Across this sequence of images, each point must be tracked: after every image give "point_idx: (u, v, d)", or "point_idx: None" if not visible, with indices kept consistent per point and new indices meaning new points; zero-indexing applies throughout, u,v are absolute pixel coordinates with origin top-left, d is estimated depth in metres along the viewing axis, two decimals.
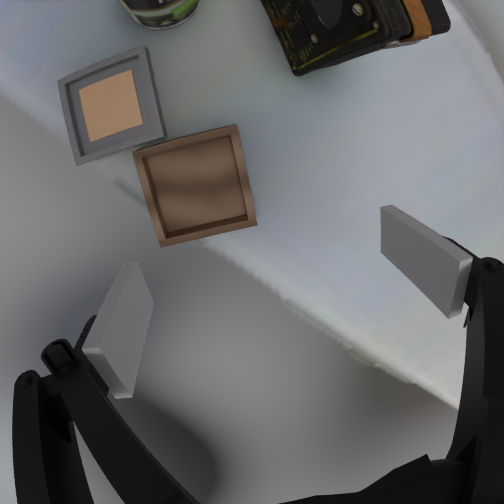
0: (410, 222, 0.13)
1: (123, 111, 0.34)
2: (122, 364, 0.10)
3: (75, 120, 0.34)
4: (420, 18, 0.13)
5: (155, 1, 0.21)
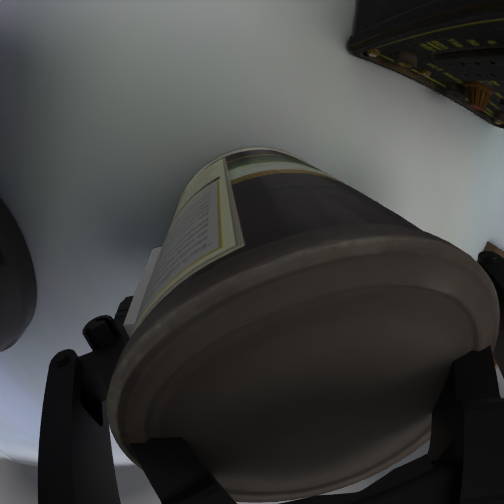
0: None
1: None
2: None
3: None
4: None
5: None
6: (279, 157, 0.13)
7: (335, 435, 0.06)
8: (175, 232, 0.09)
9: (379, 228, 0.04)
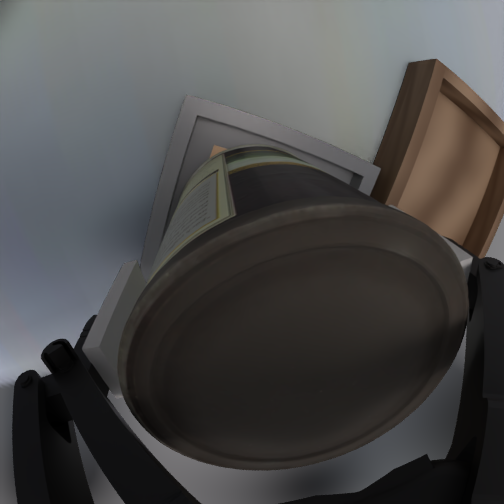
0: None
1: None
2: None
3: None
4: None
5: None
6: (272, 152, 0.14)
7: (319, 393, 0.08)
8: (179, 215, 0.10)
9: (341, 199, 0.06)
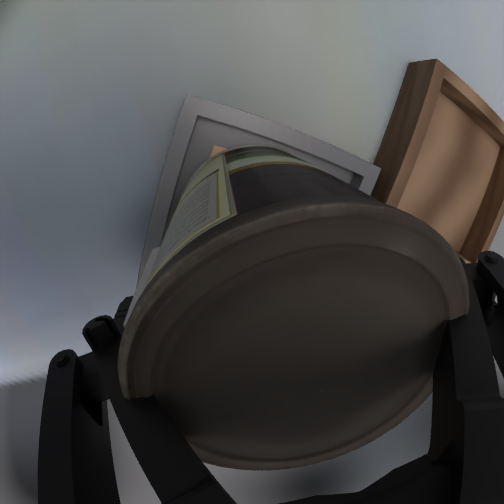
0: None
1: None
2: None
3: None
4: None
5: None
6: (273, 152, 0.14)
7: (320, 393, 0.08)
8: (179, 215, 0.10)
9: (343, 198, 0.06)
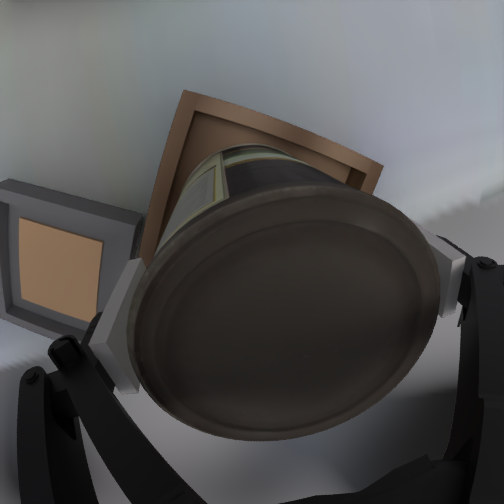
0: None
1: (71, 260, 0.21)
2: (128, 360, 0.10)
3: (58, 322, 0.23)
4: None
5: None
6: (266, 150, 0.15)
7: (304, 358, 0.09)
8: (181, 204, 0.11)
9: (314, 182, 0.07)
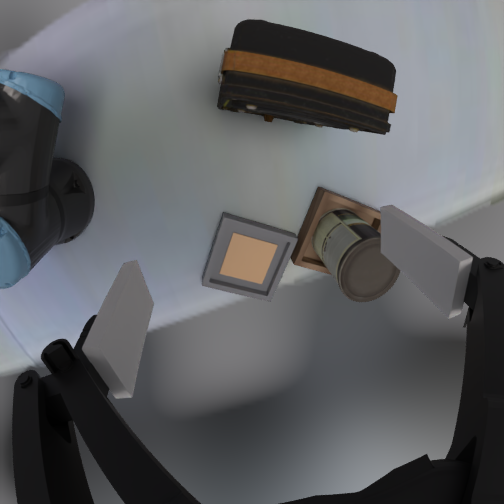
0: (410, 222, 0.13)
1: (259, 253, 0.53)
2: (122, 364, 0.10)
3: (238, 285, 0.55)
4: (386, 98, 0.21)
5: None
6: (352, 216, 0.47)
7: (372, 272, 0.41)
8: (339, 236, 0.43)
9: (377, 236, 0.39)
